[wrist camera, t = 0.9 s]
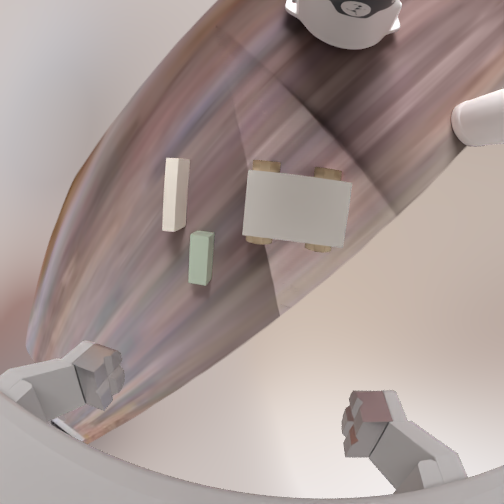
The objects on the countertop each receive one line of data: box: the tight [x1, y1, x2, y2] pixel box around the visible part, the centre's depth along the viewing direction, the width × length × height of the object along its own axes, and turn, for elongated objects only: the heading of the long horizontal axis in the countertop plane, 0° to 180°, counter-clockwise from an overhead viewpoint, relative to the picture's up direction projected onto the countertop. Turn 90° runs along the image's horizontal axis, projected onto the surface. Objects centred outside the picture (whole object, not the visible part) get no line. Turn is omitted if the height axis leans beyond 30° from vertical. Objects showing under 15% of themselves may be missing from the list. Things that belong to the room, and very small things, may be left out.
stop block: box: [162, 158, 190, 232], centre depth 44 cm, size 11×2×5 cm, turn 175°
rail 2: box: [305, 167, 342, 253], centre depth 42 cm, size 12×4×4 cm, turn 174°
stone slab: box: [242, 170, 352, 248], centre depth 40 cm, size 9×14×2 cm, turn 84°
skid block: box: [188, 230, 215, 286], centre depth 47 cm, size 8×3×4 cm, turn 174°
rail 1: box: [246, 160, 281, 245], centre depth 43 cm, size 12×4×4 cm, turn 174°
